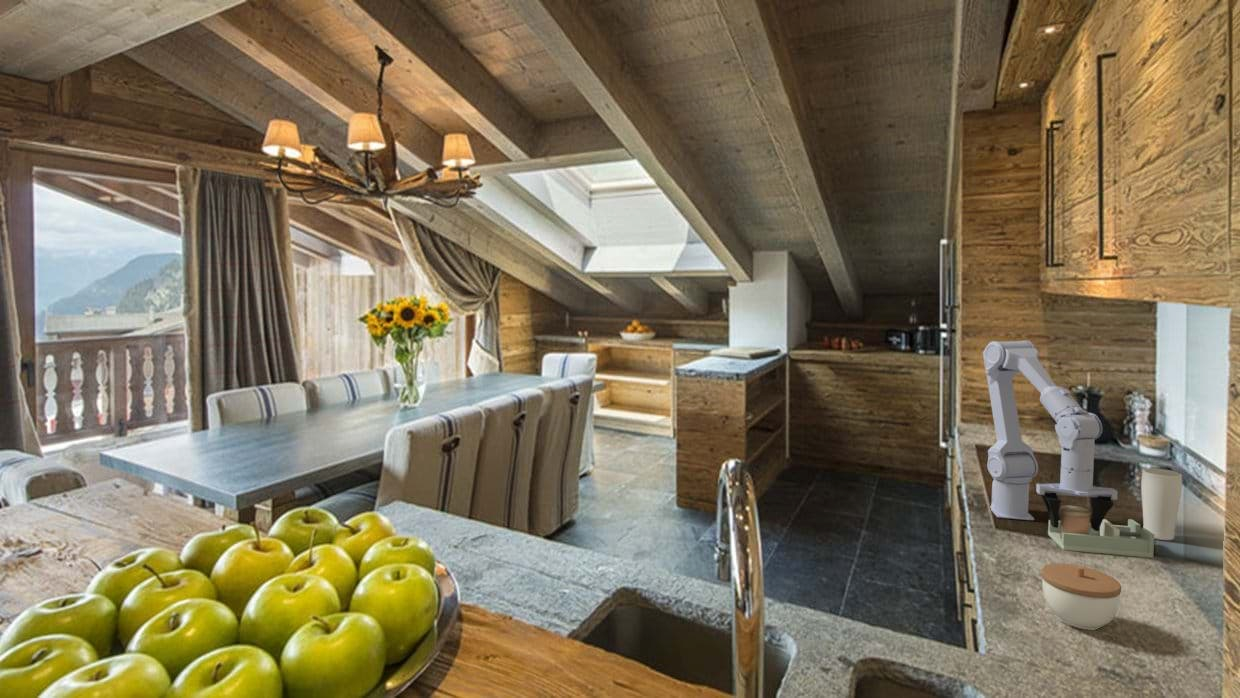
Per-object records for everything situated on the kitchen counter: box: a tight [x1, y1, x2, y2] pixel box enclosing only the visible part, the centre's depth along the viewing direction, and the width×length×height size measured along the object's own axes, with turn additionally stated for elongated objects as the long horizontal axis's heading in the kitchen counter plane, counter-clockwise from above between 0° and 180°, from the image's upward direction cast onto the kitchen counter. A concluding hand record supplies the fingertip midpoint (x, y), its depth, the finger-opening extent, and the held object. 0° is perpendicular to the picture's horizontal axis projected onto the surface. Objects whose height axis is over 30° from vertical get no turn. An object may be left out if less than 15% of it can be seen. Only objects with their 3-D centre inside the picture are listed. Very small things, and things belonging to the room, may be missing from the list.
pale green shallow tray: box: [1047, 518, 1155, 559], centre depth 132 cm, size 9×16×5 cm, turn 72°
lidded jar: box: [1041, 563, 1122, 630], centre depth 102 cm, size 11×11×9 cm
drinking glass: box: [1140, 467, 1183, 541], centre depth 135 cm, size 7×7×15 cm
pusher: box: [1100, 518, 1141, 538], centre depth 130 cm, size 6×8×4 cm
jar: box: [1059, 504, 1092, 539], centre depth 133 cm, size 5×5×7 cm
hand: (1074, 527), depth 133 cm, fingers open, 7 cm apart
